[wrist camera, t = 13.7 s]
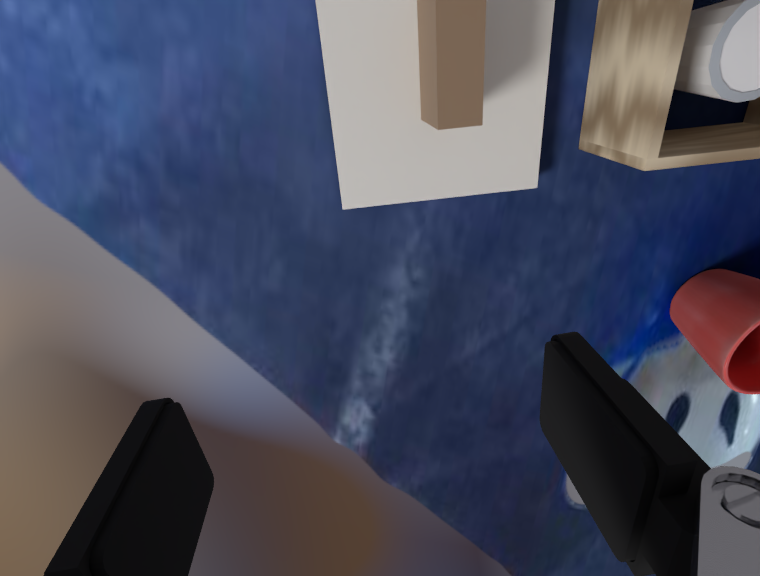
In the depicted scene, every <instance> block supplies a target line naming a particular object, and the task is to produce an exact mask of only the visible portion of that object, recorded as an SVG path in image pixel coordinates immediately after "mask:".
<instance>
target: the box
mask: <svg viewBox="0 0 760 576" xmlns="http://www.w3.org/2000/svg"><path fill="white" fill-rule="evenodd" d="M693 1H694V0H599V4H598V11H597V18H596V26H595V33H594V40H593V47H592V55H591V62H590V69H589V76H588V84H587V91H586V98H585V106H584V113H583V120H582V127H581V135H580V142H579V149H580V150H583V151H586V152H589V153H592V154H595V155H598V156H601V157H604V158H607V159H610V160H613V161H616V162H619V163H622V164H625V165H628V166H631V167H634V168H637V169H640V170H643V171H649V170H658V169H667V168H676V167H685V166H694V165H703V164H712V163H722V162H731V161H740V160H749V159H758V158H760V97H758V98H756V99H755V100H750V101H749V104H748V107H747V110H746V114H745V117H744V120H743V122H741V123H731V124H722V125H712V126H703V127H693V128H684V129H675V130H665V131H664V129H665V125H666V120H667V116H668V112H669V107H670V103H671V98H672V94H673V89H674V85H675V81H676V76H677V72H678V67H679V63H680V59H681V54H682V50H683V45H684V41H685V37H686V32H687V28H688V23H689V19H690V14H691V10H692V6H693Z"/></svg>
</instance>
